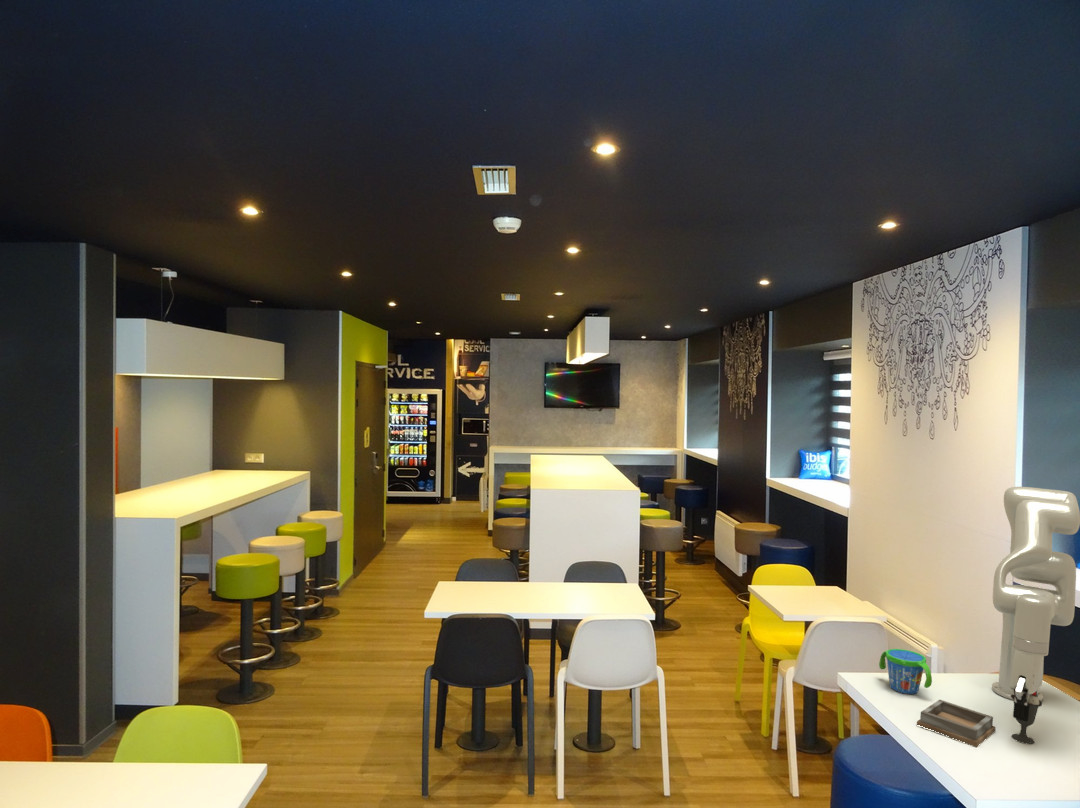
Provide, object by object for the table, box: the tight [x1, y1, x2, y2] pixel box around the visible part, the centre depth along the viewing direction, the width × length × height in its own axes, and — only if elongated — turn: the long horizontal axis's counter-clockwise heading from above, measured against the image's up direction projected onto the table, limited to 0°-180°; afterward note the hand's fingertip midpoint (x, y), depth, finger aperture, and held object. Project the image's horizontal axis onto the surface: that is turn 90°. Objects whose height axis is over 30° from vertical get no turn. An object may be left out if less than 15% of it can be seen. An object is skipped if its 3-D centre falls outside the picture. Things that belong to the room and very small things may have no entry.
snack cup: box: [878, 648, 933, 695], centre depth 219 cm, size 16×10×10 cm
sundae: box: [1011, 688, 1043, 745], centre depth 191 cm, size 7×7×15 cm
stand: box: [916, 699, 997, 748], centre depth 195 cm, size 14×14×4 cm
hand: (1025, 714), depth 191 cm, fingers closed on sundae, 6 cm apart
